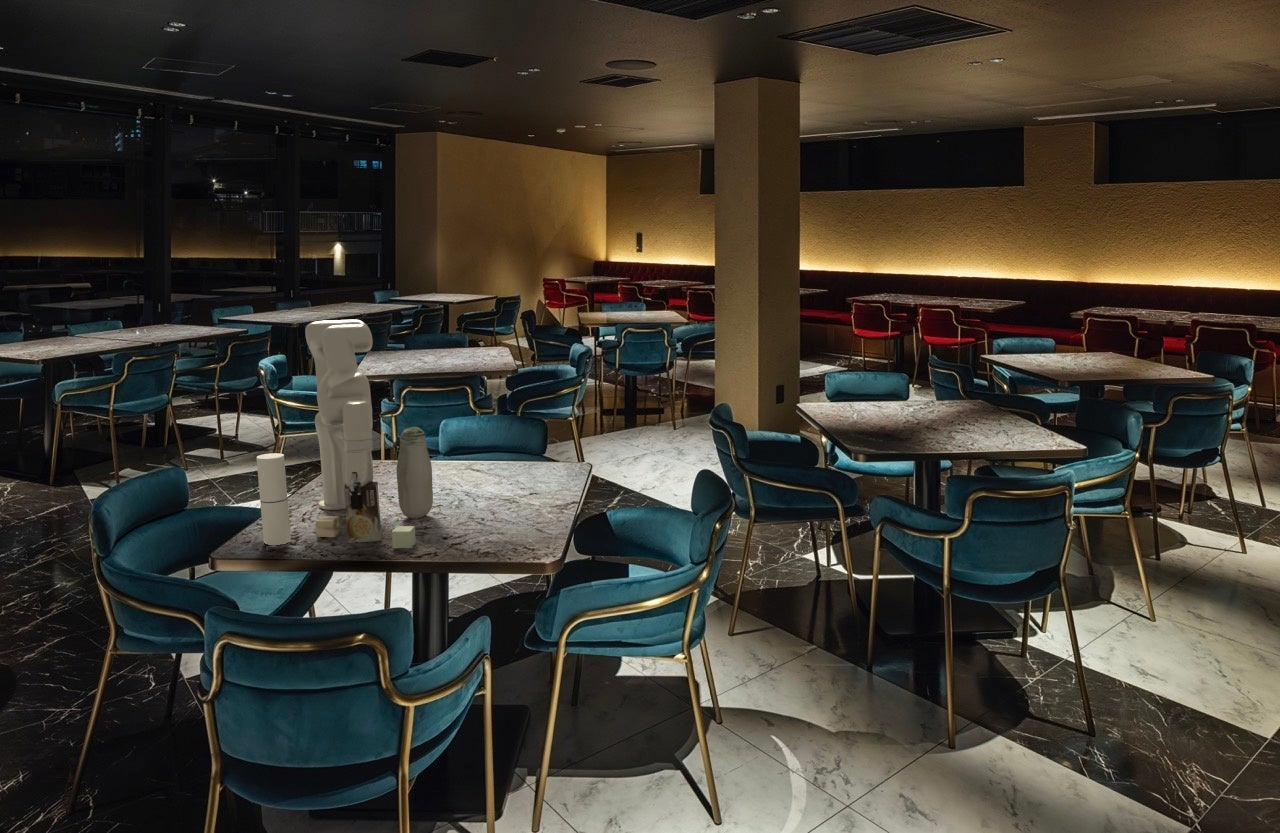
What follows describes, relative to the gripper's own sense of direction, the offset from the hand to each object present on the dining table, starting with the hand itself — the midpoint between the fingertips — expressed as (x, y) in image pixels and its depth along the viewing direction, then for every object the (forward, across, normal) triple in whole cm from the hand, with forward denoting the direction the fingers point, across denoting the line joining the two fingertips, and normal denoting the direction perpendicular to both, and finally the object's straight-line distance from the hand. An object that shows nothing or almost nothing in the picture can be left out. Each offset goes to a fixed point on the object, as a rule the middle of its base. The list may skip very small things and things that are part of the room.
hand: (363, 504), depth 265 cm
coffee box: (+10, -1, 0) cm, 11 cm away
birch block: (+10, -5, -12) cm, 17 cm away
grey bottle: (+10, -23, +9) cm, 26 cm away
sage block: (+11, +5, +13) cm, 17 cm away
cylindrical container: (+10, +2, -24) cm, 27 cm away
